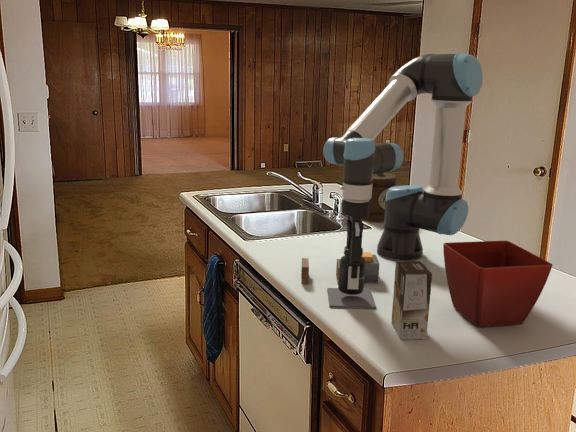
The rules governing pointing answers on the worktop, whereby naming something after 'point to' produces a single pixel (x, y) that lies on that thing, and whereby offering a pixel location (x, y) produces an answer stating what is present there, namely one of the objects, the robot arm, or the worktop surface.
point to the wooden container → (379, 196)
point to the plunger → (367, 256)
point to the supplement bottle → (344, 273)
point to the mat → (350, 299)
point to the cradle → (306, 270)
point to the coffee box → (411, 299)
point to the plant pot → (494, 281)
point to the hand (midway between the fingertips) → (351, 283)
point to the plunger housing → (372, 271)
